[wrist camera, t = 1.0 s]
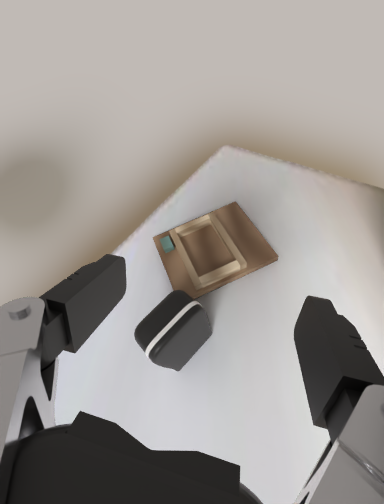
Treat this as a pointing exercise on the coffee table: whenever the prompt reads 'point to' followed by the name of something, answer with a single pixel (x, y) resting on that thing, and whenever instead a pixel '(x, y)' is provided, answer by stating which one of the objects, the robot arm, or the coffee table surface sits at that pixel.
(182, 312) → the battery charger
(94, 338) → the coffee table surface
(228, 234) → the board
